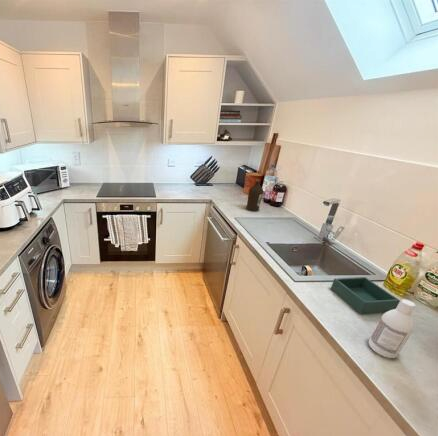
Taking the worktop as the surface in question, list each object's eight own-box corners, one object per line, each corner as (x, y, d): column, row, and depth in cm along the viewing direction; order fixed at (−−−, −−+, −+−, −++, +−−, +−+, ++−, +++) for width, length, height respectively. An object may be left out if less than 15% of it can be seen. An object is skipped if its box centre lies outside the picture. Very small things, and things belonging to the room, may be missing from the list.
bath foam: (377, 338, 82) (403, 292, 74) (401, 356, 76) (432, 308, 68) (362, 342, 80) (386, 296, 72) (386, 361, 74) (415, 313, 66)
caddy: (360, 286, 106) (365, 276, 104) (394, 311, 93) (400, 300, 91) (330, 288, 105) (334, 278, 103) (360, 313, 92) (365, 302, 90)
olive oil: (243, 209, 194) (249, 180, 184) (247, 206, 201) (253, 177, 191) (257, 212, 188) (263, 182, 178) (260, 209, 195) (267, 179, 185)
